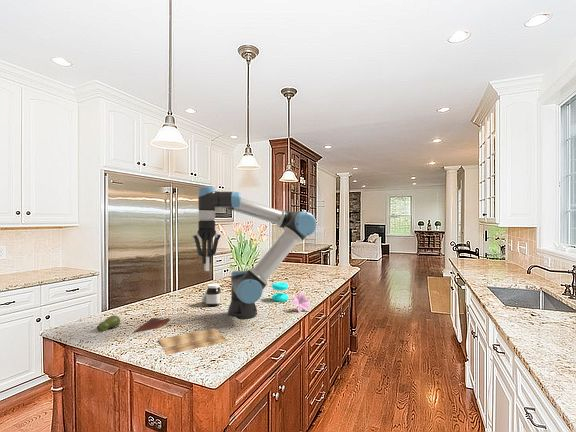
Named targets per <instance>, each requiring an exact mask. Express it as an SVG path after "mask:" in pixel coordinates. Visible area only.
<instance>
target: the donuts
mask: <svg viewBox="0 0 576 432" xmlns="http://www.w3.org/2000/svg"><path fill="white" fill-rule="evenodd" d="M272 289H273V290H275V291H280V292H277V293H274V294H273V295H272V297H271V298H272V300H273V301H275V302H286V301H288V300H289V295H288V294H286V293H283V291H285V290H287V289H289V284H288V283H287V282H274V283H273V284H272ZM281 291H282V292H281Z"/></svg>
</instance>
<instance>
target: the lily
mask: <svg viewBox="0 0 576 432" xmlns="http://www.w3.org/2000/svg"><path fill="white" fill-rule="evenodd" d="M292 294H293V297H294V300H292V301H291V302H290V304H291V306H296V309H297V311H298V313H299V314H300V313H301V312H302V311H303V310H306V311H307V312H311V308H310V305H309V303H310V302H312V300H311V299H308V298H306V297H307V296H306V291H305V290H302V291H301V292H300V293H299V295H298V294H297V293H292Z"/></svg>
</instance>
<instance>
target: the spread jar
mask: <svg viewBox="0 0 576 432" xmlns="http://www.w3.org/2000/svg"><path fill="white" fill-rule="evenodd" d="M220 285H221V284H220V283H208V284H207V288H206V291H205V292H204V293H203V295H202V296H201V302H202V303H204V304H206V306H207V307H217V306H218V307H219V306H220V305H221V303H222V289H221V288H220V287H221V286H220Z"/></svg>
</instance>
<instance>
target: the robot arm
mask: <svg viewBox="0 0 576 432" xmlns="http://www.w3.org/2000/svg"><path fill="white" fill-rule="evenodd" d="M216 208H222V209H226V210H229V211H233V212H236V213H240V214H243V215H246V216H250V217H251V218H256V219H257V220H258V219H259V220H261V221H265V222H269V223H270V224H275V225H276V226H277V227H278V228H281V229H284V231H283V233H282V234H281V235H280V236H279V237H278V239H277V240H276V241H275V242H274V243H273V245H272V246H271V247H270V248H269V250H267V252H266V253H265V254H264V256H263V257H262V258H261V259H260V260H259V261H258V262H257V264H256V265H255V266H254V268H249V269H248V270H235V271H234V270H233V271H232V272H231V274H230V275H231V276H230V278H231V279H230V280H231V281H230V282H231V283H230V285H231V286H230V288H231V289H230V291H231V293H230V296H231V297H230V304H229V306H228V310H227V316H230V317H234V318H237V320H245V319H246V320H247V319H251V318H255V317H256V316H257V315H258V309H257V306H256V303H257V301H259V300H260V299H261V297H262V295H263V291H264V289H265V287H267V285H268V279H269V278H270V277H271V276H272V275H273V273H274V272H275V271H276V269H277V268H278V267H279V266H280V265H281V263H282V262H283V261H284V259H286V257H287V256H288V255H289V253H290V252H291V251H292V250H293V249H294V247H296V245H298V243H302V242H304V240H305V239H306V238H307V236H311V235H312V234H313V233H314V232H315V231H316V230H317V220H316V218H315V216H314V215H313V214H312V213H310V212H309V211H304V210H303V211H289V210H285V209H282V210H279V209H276V208H273V207H270V206H267V205H264V204H260V203H257V202H254V201H252V200H249V199H246V198H242V196H241V192H239V191H218V190H216V188H215V187H214V186H200V187H199V188H198V230H197V233H196V234H194V235H192V239H194V242H195V247H196V251H197V255H198V256H200V257H201V258H202V260H201V261H202V264H204V265H203V268H204V270H203V271H205V272H210V264H211V263H212V257H213V256H215V255H216V254H217V253H216V252H217V249H218V243H219V241H220V238H221V236H222V235H221V234H218V233H217V231H216V221H215V220H216ZM213 238H214V239H213ZM199 239H201V243H200V240H199ZM212 242H213V244H212Z"/></svg>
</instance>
